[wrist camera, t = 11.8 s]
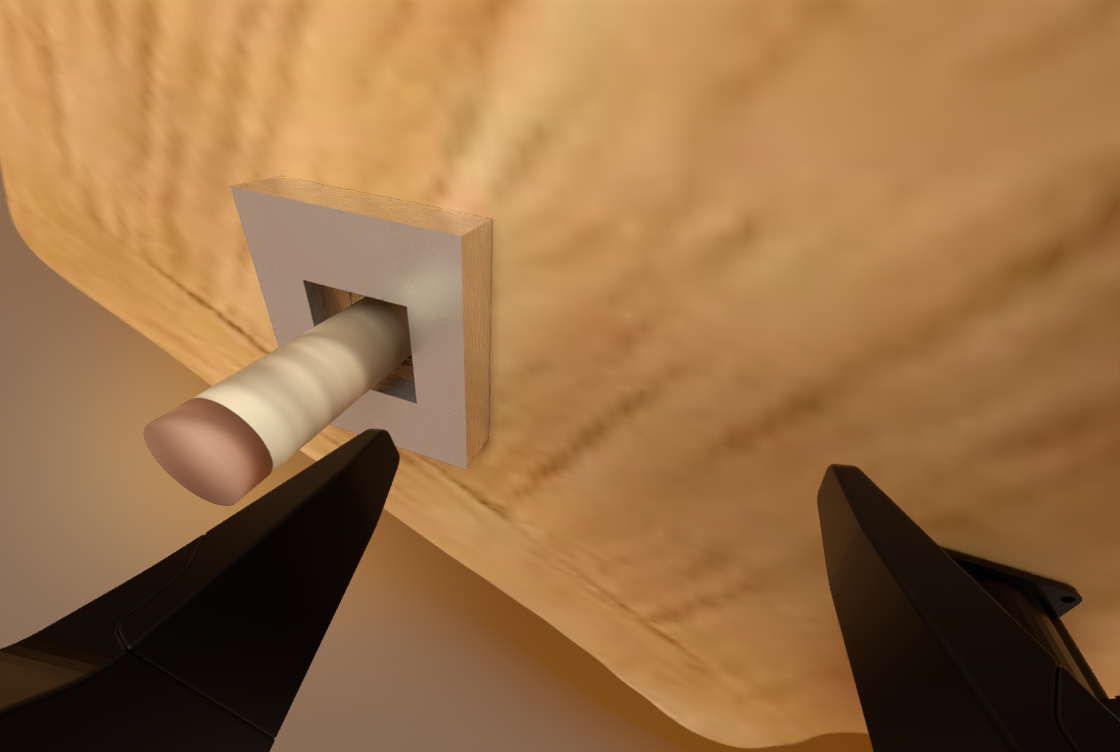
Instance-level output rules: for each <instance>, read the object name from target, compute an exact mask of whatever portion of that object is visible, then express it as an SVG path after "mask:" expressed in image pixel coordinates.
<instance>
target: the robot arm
mask: <svg viewBox="0 0 1120 752" xmlns="http://www.w3.org/2000/svg"><path fill="white" fill-rule="evenodd" d="M399 459H400V457H399V453H398V450H397V448H396V446H395V444H394V442H393V440H392V438H391V436H390V434H389V432H388V431H386V430H384V429H372V428H371V429H367V430H365V431H364V432H362V433H361V434H359V435H357V436H356V437H354V438H353V439H351V440H350V441H348V442H347V443H345V444H343V445H342V446H340V447H339V448H337V449H336V450H334V451H332V452H331V453H329V454H328V455H326V456H325V457H323V458H322V459H320V460H318V461H317V462H315V463H314V464H312V465H311V466H309V467H308V468H306V469H304V470H303V471H301V472H300V473H298V474H297V475H295V476H293V477H292V478H290V479H289V480H287V481H286V482H284V483H283V484H281V485H279V486H278V487H276V488H275V489H273V490H272V491H270V492H269V493H267V494H265V495H264V496H262V497H261V498H259V499H258V500H256V501H254V502H253V503H251V504H250V505H249V506H247V507H245V508H244V509H242V510H241V511H239V512H237V513H236V514H234V515H233V516H231V517H229V518H228V519H226V520H225V521H223V522H222V523H220V524H218V525H217V526H215V527H214V528H212V529H211V530H209V531H208V532H207V533H206V534H205V535H201V536H200V537H198V538H196V539H195V540H193V541H192V542H190V543H189V544H187V545H186V546H184V547H182V548H181V549H179V550H178V551H176V552H175V553H173V554H171V555H170V556H168V557H166V558H165V559H163V560H162V561H160V562H158V563H157V564H155V565H154V566H152V567H150V568H149V569H147V570H145V571H143V572H142V573H140V574H138V575H137V576H135V577H133V578H132V579H130V580H128V581H126V582H125V583H123V584H121V585H119V586H118V587H116V588H114V589H112V590H111V591H109V592H107V593H105V594H104V595H102V596H100V597H98V598H97V599H95V600H93V601H92V602H90V603H88V604H86V605H84V606H83V607H81V608H79V609H78V610H76V611H74V612H72V613H71V614H69V615H67V616H65V617H63V618H62V619H60V620H58V621H56V622H55V623H53V624H51V625H49V626H48V627H46V628H44V629H43V630H41V631H39V632H37V633H35V634H33V635H32V636H30V637H28V638H25V639H23V640H21V641H19V642H17V643H15V644H12V645H10V646H7V647H5V648H2V649H0V752H269V751H270V749H271V747H272V745H273V743H274V741H275V740H274V738H275V737H276V736H277V734H278V732H279V730H280V728H281V726H282V724H283V721H284V719H285V717H286V715H287V713H288V711H289V709H290V707H291V705H292V703H293V700H294V698H295V696H296V694H297V692H298V690H299V688H300V686H301V683H302V681H303V679H304V677H305V675H306V673H307V671H308V669H309V667H310V665H311V663H312V661H313V658H314V656H315V654H316V652H317V650H318V648H319V646H320V644H321V641H322V640H323V637H324V635H325V633H326V631H327V629H328V627H329V625H330V623H331V620H332V619H333V616H334V614H335V612H336V610H337V608H338V606H339V604H340V602H341V600H342V598H343V595H344V593H345V591H346V589H347V587H348V585H349V583H350V581H351V578H352V577H353V574H354V572H355V570H356V568H357V566H358V564H359V562H360V560H361V558H362V556H363V553H364V551H365V549H366V547H367V545H368V543H369V541H370V539H371V537H372V534H373V532H374V530H375V528H376V526H377V523H378V521H379V518H380V516H381V512H382V510H383V507H384V504H385V502H386V499H387V496H388V493H389V490H390V488H391V485H392V482H393V479H394V476H395V474H396V471H397V468H398V465H399ZM817 504H818V511H819V519H820V526H821V533H822V540H823V547H824V554H825V561H826V568H827V574H828V580H829V586H830V590H831V594H832V598H833V602H834V606H835V610H836V613H837V617H838V621H839V625H840V628H841V632H842V636H843V640H844V643H845V647H846V651H847V654H848V658H849V662H850V666H851V669H852V673H853V677H854V681H855V684H856V688H857V692H858V696H859V699H860V703H861V707H862V710H863V714H864V718H865V722H866V725H867V729H868V733H869V737H870V740H871V744H872V748H873V752H1120V695H1119V696H1115V698H1116V699H1109V698H1108V696H1107V694H1106V693H1105V691H1104V690H1103V688H1102V686H1101V685H1100V683H1099V681H1098V680H1097V678H1096V677H1095V675H1094V673H1093V672H1092V670H1091V668H1090V667H1089V665H1088V663H1087V662H1086V660H1085V659H1084V657H1083V655H1082V654H1081V652H1080V650H1079V649H1078V647H1077V646H1076V644H1075V642H1074V641H1073V639H1072V637H1071V636H1070V634H1069V633H1068V631H1067V629H1066V628H1065V626H1064V624H1063V623H1062V621H1061V619H1060V618H1059V617H1061V616H1062V615H1063V614H1065V613H1066V612H1068V611H1069V610H1071V609H1072V608H1074V607H1075V606H1077V605H1078V604H1079V603H1081V601H1082V598H1081V596H1080V595H1079V593H1078V592H1077V590H1076V589H1075V588H1073V587H1071V586H1067V585H1064V584H1061V583H1057V582H1054V581H1050V580H1047V579H1044V578H1040V577H1037V576H1034V575H1030V574H1027V573H1024V572H1020V571H1017V570H1013V569H1010V568H1007V567H1003V566H1000V565H997V564H993V563H990V562H987V561H983V560H980V559H977V558H973V557H970V556H966V555H963V554H960V553H956V552H953V551H950V550H946V549H942V548H941V547H940V546H939V545H938V544H936V543H935V542H934V541H933V540H932V539H931V538H930V537H929V536H928V535H927V534H926V533H925V532H924V531H923V530H922V529H921V528H920V527H919V526H918V525H917V524H916V523H915V522H914V521H913V520H912V519H911V518H910V517H909V516H908V515H907V514H906V513H905V512H904V511H902V510H901V509H900V508H899V507H898V506H897V505H896V504H895V503H894V502H893V501H892V500H891V499H890V498H889V497H888V496H887V495H886V494H885V493H884V492H883V491H882V490H881V489H880V488H879V487H878V486H877V485H876V484H875V483H874V482H873V481H872V480H871V479H869V478H868V477H867V476H866V475H865V474H864V473H863V472H862V471H861V470H860V469H859V468H857V467H856V466H853V465H841V464H831V465H830V466H829V467H828V468H827V470H826V473H825V475H824V478H823V481H822V483H821V486H820V489H819V491H818V496H817Z"/></svg>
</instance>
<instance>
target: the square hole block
mask: <svg viewBox="0 0 1120 752" xmlns="http://www.w3.org/2000/svg"><path fill="white" fill-rule="evenodd" d="M230 187H231V190H232V193H233V197H234V200H235V203H236V207H237V210H238V213H239V217H240V220H241V223H242V227H243V230H244V233H245V237H246V240H247V243H248V247H249V250H250V253H251V257H252V260H253V263H254V267H255V270H256V273H257V276H258V280H259V283H260V286H261V290H262V293H263V296H264V300H265V303H266V306H267V310H268V313H269V316H270V320H271V323H272V326H273V330H274V333H275V336H276V340H277V343H278V346H279V347H281V346H283V345H284V344H286V343H288V342H289V341H291V340H293V339H295V338H296V337H298V336H300V335H301V334H303V333H305V332H306V331H308V330H310V329H312V328H313V327H315V326H317V325H318V324H320V323H322V322H324V321H325V320H327V319H329V318H330V317H332V316H334V315H336V314H337V313H339V312H341V311H342V310H344V309H346V308H348V307H349V306H351V305H352V304H351V299H350V293H349V292H352V293H356V294H360V295H364V296H368V297H372V298H376V299H379V300H383V301H387V302H391V303H395V304H399V305H403V306H407V312H408V322H409V331H410V341H411V351H412V361H413V367H412V366H409V365H405V364H402V363H401V364H400V365H399V366H397V367H396V368H395V369H394V370H393V371H391V372H390V373H389V374H388V375H387V376H386V377H384V378H383V379H382V380H381V381H380V382H378V383H377V384H376V385H375V386H374V387H373V388H371V389H370V390H369V391H368V392H367V393H365V394H364V395H363V396H362V397H361V398H360V399H358V400H357V401H356V402H355V403H354V404H352V405H351V406H350V407H349V408H348V409H347V410H345V411H344V412H343V413H342V414H341V415H339V416H338V417H337V418H336V419H335V420H334V421H332V422H331V423H330V425H333V426H336V427H339V428H342V429H345V430H348V431H351V432H354V433H357V434H361V433H362V432H364V431H365V430H367V429H371V428H372V429H384V430H386V431H388V432H389V434H390V436H391V438H392V440H393V442H394V444H395V446H397V447H400V448H403V449H406V450H409V451H412V452H415V453H418V454H421V455H424V456H427V457H430V458H433V459H436V460H439V461H442V462H445V463H449V464H452V465H455V466H458V467H461V468H464V469H468V467H469V466H470V464H471V463H472V461H473V460H474V458H475V457H476V455H477V454H478V452H479V451H480V450H481V448H482V447H483V445H484V444H485V442H486V441H487V439H488V438H489V380H490V316H491V252H492V219H490V218H485V217H480V216H475V215H471V214H466V213H461V212H456V211H451V210H446V209H441V208H436V207H431V206H427V205H422V204H417V203H412V202H407V201H402V200H397V199H392V198H388V197H383V196H378V195H373V194H368V193H363V192H358V191H353V190H348V189H344V188H339V187H334V186H329V185H324V184H319V183H314V182H309V181H304V180H300V179H295V178H290V177H285V176H278V177H273V178H268V179H264V180H259V181H254V182H249V183H244V184H239V185H234V186H230Z"/></svg>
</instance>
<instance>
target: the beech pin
mask: <svg viewBox="0 0 1120 752" xmlns="http://www.w3.org/2000/svg"><path fill="white" fill-rule="evenodd" d="M410 355H412V351H411V341H410V331H409V322H408V312H407V306H403V305H399V304H395V303H391V302H387V301H383V300H379V299H376V298H372V297H368V296H366V297H365V298H363V299H361V300H360V301H358V302H356V303H354V304H353V305H351V306H349V307H348V308H346V309H344V310H342V311H341V312H339V313H337V314H336V315H334V316H332V317H330V318H329V319H327V320H325V321H324V322H322V323H320V324H318V325H317V326H315V327H313V328H312V329H310V330H308V331H306V332H305V333H303V334H301V335H300V336H298V337H296V338H295V339H293V340H291V341H289V342H288V343H286V344H284V345H283V346H281V347H279V348H277V349H276V350H274V351H272V352H271V353H269V354H267V355H265V356H264V357H262V358H260V359H259V360H257V361H255V362H253V363H252V364H250V365H248V366H247V367H245V368H243V369H241V370H240V371H238V372H236V373H235V374H233V375H231V376H229V377H228V378H226V379H224V380H223V381H221V382H219V383H217V384H216V385H214V386H212V387H211V388H209V389H207V390H206V391H204V392H202V393H201V394H199V395H197V396H195V397H193V398H192V399H190V400H188V401H187V402H185V403H183V404H181V405H180V406H178V407H177V408H175V409H173V410H171V411H169V412H168V413H166V414H164V415H163V416H161V417H159V418H157V419H156V420H154V421H152V422H151V423H149V424H148V425H146V427H145V428H144V439H145V442H146V444H147V446H148V448H149V450H150V452H151V453H152V455H153V456H154V458H155V459H156V460H157V462H158V463H159V464H160V465H161V466H162V467H163V469H164V470H165V471H166V472H167V473H168V474H169V475H171V476H172V477H173V478H174V479H175V480H176V481H177V482H178V483H180V484H181V485H182V486H184V487H185V488H186V489H188V490H189V491H191V492H192V493H194V494H196V495H197V496H199V497H201V498H203V499H205V500H207V501H209V502H212V503H214V504H218V505H223V506H231V505H234V504H235V503H237V502H238V501H239V500H240V499H241V498H243V497H244V496H245V495H246V494H247V493H248V492H250V491H251V490H252V489H253V488H254V487H256V486H257V485H258V484H259V483H260V482H261V481H263V480H264V479H265V478H266V477H267V476H268V475H270V474H271V473H272V472H273V471H275V469H277V468H278V467H279V466H280V465H282V464H283V463H284V462H285V461H286V460H287V459H289V458H290V457H291V456H292V455H293V454H295V453H296V452H297V451H298V450H299V449H301V448H302V447H303V446H304V445H305V444H306V443H308V442H309V441H310V440H311V439H312V438H313V437H315V436H316V435H317V434H318V433H319V432H321V431H322V430H323V429H324V428H325V427H326V426H328V425H329V424H330V423H331V422H332V421H334V420H335V419H336V418H337V417H338V416H339V415H341V414H342V413H343V412H344V411H345V410H347V409H348V408H349V407H350V406H351V405H352V404H354V403H355V402H356V401H357V400H358V399H360V398H361V397H362V396H363V395H364V394H365V393H367V392H368V391H369V390H370V389H371V388H373V387H374V386H375V385H376V384H377V383H378V382H380V381H381V380H382V379H383V378H384V377H386V376H387V375H388V374H389V373H390V372H391V371H393V370H394V369H395V368H396V367H397V366H399V365H400V364H401V363H402V362H403V361H404V360H406V359H407V358H408V357H409V356H410Z"/></svg>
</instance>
